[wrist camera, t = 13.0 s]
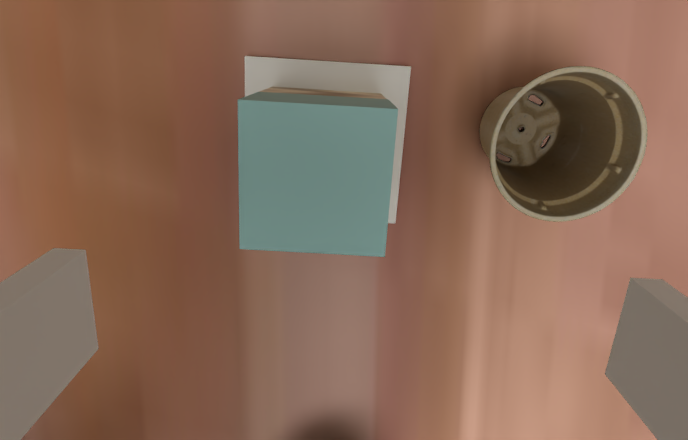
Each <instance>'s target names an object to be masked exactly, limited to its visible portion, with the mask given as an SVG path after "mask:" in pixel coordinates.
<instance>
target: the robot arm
mask: <svg viewBox="0 0 688 440" xmlns="http://www.w3.org/2000/svg"><path fill="white" fill-rule="evenodd" d="M98 349H99V348H98V341H97V333H96V325H95V318H94V310H93V302H92V295H91V287H90V279H89V272H88V264H87V256H86V250H80V249H61V248H53V249H51V250H50V251H48V252H47V253H45V254H44V255H42V256H41V257H39V258H38V259H36V260H35V261H33V262H31V263H30V264H28V265H27V266H25V267H24V268H22V269H21V270H19V271H18V272H16V273H15V274H13V275H11V276H10V277H8V278H7V279H5V280H4V281H2V282H1V283H0V440H21V439H22V438H23V436H24V435H25V434H26V433H27V432H28V431H29V429H30V428H31V427H32V426H33V425H34V424H35V422H36V421H37V420H38V419H39V418H40V417H41V415H42V414H43V413H44V412H45V411H46V410H47V408H48V407H49V406H50V405H51V404H52V403H53V401H54V400H55V399H56V398H57V397H58V396H59V394H60V393H61V392H62V391H63V390H64V388H65V387H66V386H67V385H68V384H69V383H70V381H71V380H72V379H73V378H74V377H75V376H76V374H77V373H78V372H79V371H80V370H81V369H82V367H83V366H84V365H85V364H86V363H87V362H88V360H89V359H90V358H91V357H92V356H93V355H94V353H95V352H96V351H97V350H98ZM605 375H606V376H607V377H608V379H609V380H610V381H611V382H612V384H613V385H614V386H615V387H616V388H617V390H618V391H619V392H620V393H621V395H622V396H623V397H624V398H625V400H626V401H627V402H628V403H629V405H630V406H631V407H632V408H633V410H634V411H635V412H636V413H637V415H638V416H639V417H640V418H641V420H642V421H643V422H644V423H645V425H646V426H647V427H648V428H649V430H650V431H651V432H652V433H653V435H654V436H655V437H656V438H657V440H688V298H687V297H686V296H685V295H683V294H682V293H680V292H679V291H678V290H676V289H675V288H673V287H672V286H671V285H669V284H668V283H666V282H665V281H664V280H662V279H646V278H630V282H629V285H628V289H627V293H626V297H625V300H624V304H623V308H622V312H621V315H620V319H619V323H618V327H617V330H616V334H615V338H614V342H613V345H612V349H611V353H610V357H609V360H608V364H607V368H606V372H605Z"/></svg>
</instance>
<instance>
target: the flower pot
mask: <svg viewBox="0 0 688 440" xmlns="http://www.w3.org/2000/svg"><path fill="white" fill-rule="evenodd" d="M530 95H535V96H537V97H538V98H539V99H541V100H542V101H543V104H542V105H541V106H539V105H537V104H535V103H534V102H532V101H529V100H528V98H529V96H530ZM519 127H524V131H522V132H519V130H518V129H519ZM479 134H480V141H481V145H482V148H483V150H484V152H485V153H486V155H487V156H488V157H489V159H490V168H491V172H492V176H493V179H494V181H495V183H496V185H497V187H498V189H499V191H500V192H501V194H502V195H503V197H504V198H505V199H506V200H507V201H508V202H509V203H510V204H511V205H512V206H513V207H515V208H516V209H517V210H519V211H521V212H522V213H524V214H526V215H528V216H531V217H533V218H536V219H540V220H545V221H554V222H558V221H560V222H562V221H570V220H576V219H580V218H583V217H586V216H589V215H591V214H593V213H596V212H598V211H600V210H601V209H603V208H605V207H606V206H608V205H609V204H611V203H612V202H613V201H614V200H616V199H617V198H618V197H619V196H620V195H621V194H622V193H623V192H624V190H625V189H626V188H627V187H628V186H629V184H630V183H631V182H632V180H633V179H634V177H635V176H636V173H637V172H638V169H639V167H640V165H641V162H642V160H643V157H644V153H645V149H646V142H647V122H646V117H645V114H644V110H643V107H642V105H641V103H640V101H639V99H638V97H637V95H636V94H635V92H634V91H633V90H632V89H631V88H630V87H629V86H628V85H627V84H626V83H625V82H624V81H623V80H622V79H620V78H618V77H617V76H615V75H614V74H612V73H610V72H607V71H605V70H601V69H599V68H594V67H586V66H571V67H565V68H560V69H556V70H553V71H550V72H548V73H545V74H543V75H541V76H539V77H537V78H536V79H534V80H532V81H531V82H529V83H528V84H527V85H525V86H524V87H517V88H513V89H510V90H508V91H506V92H504V93H502V94H501V95H499V96H498V97H496V98H495V99H494V100H493V101H492V102H491V103H490V105H489V106H488V107H487V109H486V110H485V112H484V114H483V117H482V120H481V124H480V130H479ZM548 135H550V138H549V140H548V142H547V144H546V145H545V146H544V147H543V148H541V145H542V143H543V140H544V139H545V138H546V137H547V136H548ZM497 153H500V154H502V155H504V156H506V157H509V158H511V161H510V162H504V161H502V160H500V159H498V158H497V156H496V155H497Z"/></svg>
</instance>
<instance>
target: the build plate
mask: <svg viewBox="0 0 688 440" xmlns="http://www.w3.org/2000/svg"><path fill="white" fill-rule="evenodd" d="M410 72H411V67H410V66H395V65H379V64H364V63H348V62H332V61H317V60H301V59H286V58H270V57H254V56H245V97H246V96H249V95H251V94H254V93H256V92H259V91H262V90H264V89H267V88H270V87H288V88H303V89H319V90H335V91H351V92H367V93H381V94H382V95H383V96H384V97H385V98H386V99H388V100H389V101H391V102H392V103H393V104H394V105H395V106H396V107H397V108H398V117H397V128H396V139H395V150H394V161H393V172H392V183H391V194H390V205H389V216H388V223H395V222H396V212H397V202H398V192H399V182H400V172H401V162H402V152H403V142H404V132H405V122H406V112H407V102H408V92H409V82H410Z"/></svg>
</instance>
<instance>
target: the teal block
mask: <svg viewBox="0 0 688 440" xmlns="http://www.w3.org/2000/svg"><path fill="white" fill-rule="evenodd" d="M397 117H398V108H397V107H396V106H395V105H394V104H393V103H392V102H391V101H389V100H388V99H374V98H357V97H340V96H323V95H306V94H290V93H273V92H256V93H254V94H251V95H249V96H246V97H243V98H241V99H238V163H239V242H240V249H249V250H267V251H286V252H304V253H323V254H341V255H359V256H378V257H385V249H386V238H387V227H388V216H389V205H390V194H391V183H392V172H393V161H394V150H395V139H396V128H397Z"/></svg>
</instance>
